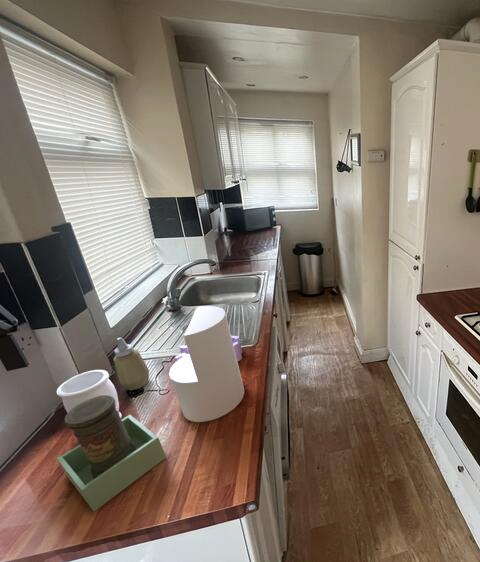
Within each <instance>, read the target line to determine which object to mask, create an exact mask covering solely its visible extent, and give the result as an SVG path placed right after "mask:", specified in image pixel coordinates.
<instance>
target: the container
mask: <svg viewBox="0 0 480 562" xmlns="http://www.w3.org/2000/svg"><path fill="white" fill-rule="evenodd" d="M119 412H120V411H119ZM119 412H118V411H117V410H116V405H115V399H114V398H113V397H111V396H108V395H103V396H97V397H94V398H91V399H88V400H86V401H84V402H82V403H80V404H78V405H77V406H75V407H74V408H72V409H71V410H70V411H69V412H68V413H67V412H66V414H65V416H64V424H65V425H66V426H67V427H69V429H70V430H72V431H73V436H74V437H76V439H77V441H78V443H79V445H81V447H82V449H83V450H84V452H85V454H86V456H87V458H88V463H89V464H90V465H91V473H92V474H93V478H94V479H95V478H96V477H98V476H99V475H101V474H102V473H104V472H105V471H107V470H108V469H109V468H111V467H112V466H114V465H115V464H117V463H118V462H120V461H121V460H123V459H124V458H125V457H127V456H128V455H130V454H131V453H133V452H134V451H136V450H137V447H136V446H135V445H134V444H133V443H132V441H131V438H130V437H129V436H128V434H127V432H126V429H125V427H124V425H123V422H122V417H121V418H120V416H119Z"/></svg>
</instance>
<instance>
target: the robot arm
mask: <svg viewBox="0 0 480 562" xmlns="http://www.w3.org/2000/svg"><path fill="white" fill-rule="evenodd" d="M18 324H19V320H18V319H17V318H16V317H15V316H14V315H12V314H11V313H10V312H9V311H8V309H6V308H5V307H4V306H2V305H1V304H0V362H1V364H2V365H3V367H4V368H5V370H6V372H10V371H15V370H20V369H23V368H28V367H29V366H30V363H29V361H28V358H27V356H26V355H25V353H24V352H23V349H22V348H21V347H20V345H19V343H18V341H17V339H16V338H15V336H14V334H13V333H18V332H20V330H21V329H20V326H19V325H18Z"/></svg>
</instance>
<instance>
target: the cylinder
mask: <svg viewBox="0 0 480 562" xmlns="http://www.w3.org/2000/svg"><path fill="white" fill-rule="evenodd" d="M229 325H230V324H229V321H228V318H227V314H226V311H225V309H224V308H222V307H220V306H214V305H202V306H196V309H195V310H194V313H193V315H192V317H191V320H190V322H189V324H188V326H187V328H186V330H185V332H184V334H183V338H184V342H185V344H186V345H187V348H188V351H189V354H187V355H185V356H183V357H182V358H180V359H179V360H178V361H177V362H176V361H175V362H174V364H172V366H171V367H170V368H169V371H168V375H169V378H170V381H171V384H172V387H173V389H174V392H175V394H176V398H177V401H178V404H179V406H180V409H181V412H182V415H183V417H184V418H185V419H186V420H187V421H191V422H194V423H203V422H204V423H205V422H209V421H213V420H216V419H220V418H221V417H223V416H225V415H227V414H228V413H230V412H231V411H233V410H234V409H235V408H237V406H238V405H239V404H240V403H241V402H242V400H243V399H244V396H245V388H244V387H245V386H244V382H243V379H242V375H241V371H240V367H239V361H238V362H237V358H236V354H235V350H234V346H233V342H232V338H231V336H232V334H231V330H230V326H229ZM186 345H185V346H186Z"/></svg>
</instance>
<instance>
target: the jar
mask: <svg viewBox="0 0 480 562" xmlns="http://www.w3.org/2000/svg"><path fill="white" fill-rule="evenodd" d="M109 378H110V374H109V372H108V370H106V369H92V370H88V371H85V372H82V373H79V374H77V375H74V376H72V377H71V378H69V379H67V380H66V381H63V383H61V384H60V385H59V386H58V388H57V390H56V394H57V396H58V397H59V398H61V399H62V405H63V408H64V410H65V411H66V414H67V413H68V412H69V411H70V410H71V409H72V408H74V407H75V406H77V405H78V404H80V403H82V402H84V401H86V400H88V399H91V398H94V397H97V396H103V395H108V396H111V397H113V398H114V399H115V405H116V410H117V411H118V412H119V416H120V418H121V419H122V416H123V415H122V413H121V411H120V401H119V396H118V392H117V389H116V387H115V385H114V383H113V382H112V381H111V380H110V379H109Z"/></svg>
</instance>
